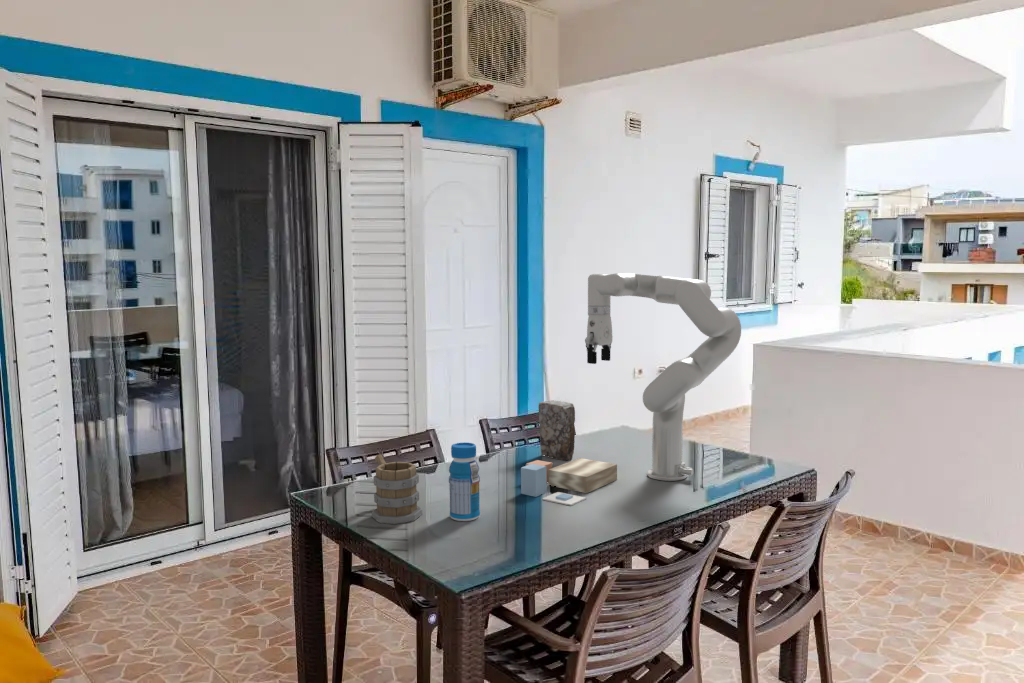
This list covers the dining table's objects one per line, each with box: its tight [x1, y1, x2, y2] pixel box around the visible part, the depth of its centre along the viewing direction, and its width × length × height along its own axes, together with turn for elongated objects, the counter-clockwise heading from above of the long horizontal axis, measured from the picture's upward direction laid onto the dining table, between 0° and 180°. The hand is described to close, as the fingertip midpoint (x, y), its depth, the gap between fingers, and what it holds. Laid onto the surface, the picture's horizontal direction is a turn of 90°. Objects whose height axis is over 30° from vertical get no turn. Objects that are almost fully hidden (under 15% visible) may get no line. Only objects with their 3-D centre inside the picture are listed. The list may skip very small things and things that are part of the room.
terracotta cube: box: [525, 459, 553, 482], centre depth 238 cm, size 6×6×6 cm
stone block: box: [538, 399, 576, 462], centre depth 268 cm, size 13×7×20 cm, turn 49°
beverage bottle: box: [448, 442, 481, 522], centre depth 203 cm, size 8×8×20 cm
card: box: [541, 491, 587, 507], centre depth 219 cm, size 10×8×1 cm
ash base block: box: [548, 457, 618, 494], centre depth 236 cm, size 14×18×5 cm
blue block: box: [520, 464, 548, 498], centre depth 225 cm, size 6×6×8 cm
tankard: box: [371, 453, 423, 525], centre depth 208 cm, size 20×13×15 cm, turn 30°
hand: (598, 361), depth 252 cm, fingers open, 9 cm apart
